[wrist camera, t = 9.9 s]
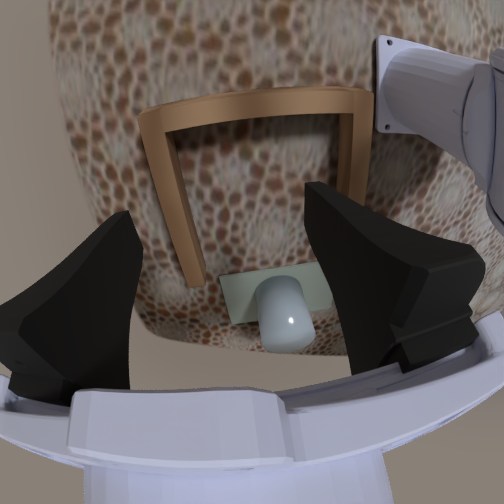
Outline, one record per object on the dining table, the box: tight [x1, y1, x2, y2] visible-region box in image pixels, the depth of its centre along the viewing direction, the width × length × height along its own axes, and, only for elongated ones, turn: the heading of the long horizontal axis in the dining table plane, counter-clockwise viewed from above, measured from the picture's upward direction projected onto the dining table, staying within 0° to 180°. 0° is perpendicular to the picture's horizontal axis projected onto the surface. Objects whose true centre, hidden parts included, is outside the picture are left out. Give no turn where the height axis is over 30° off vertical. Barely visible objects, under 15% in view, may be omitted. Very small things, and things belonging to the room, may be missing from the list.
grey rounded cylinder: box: [254, 275, 315, 354], centre depth 27 cm, size 7×5×6 cm
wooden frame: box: [137, 86, 374, 288], centre depth 20 cm, size 15×15×2 cm
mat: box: [219, 261, 333, 324], centre depth 30 cm, size 12×8×1 cm, turn 96°
